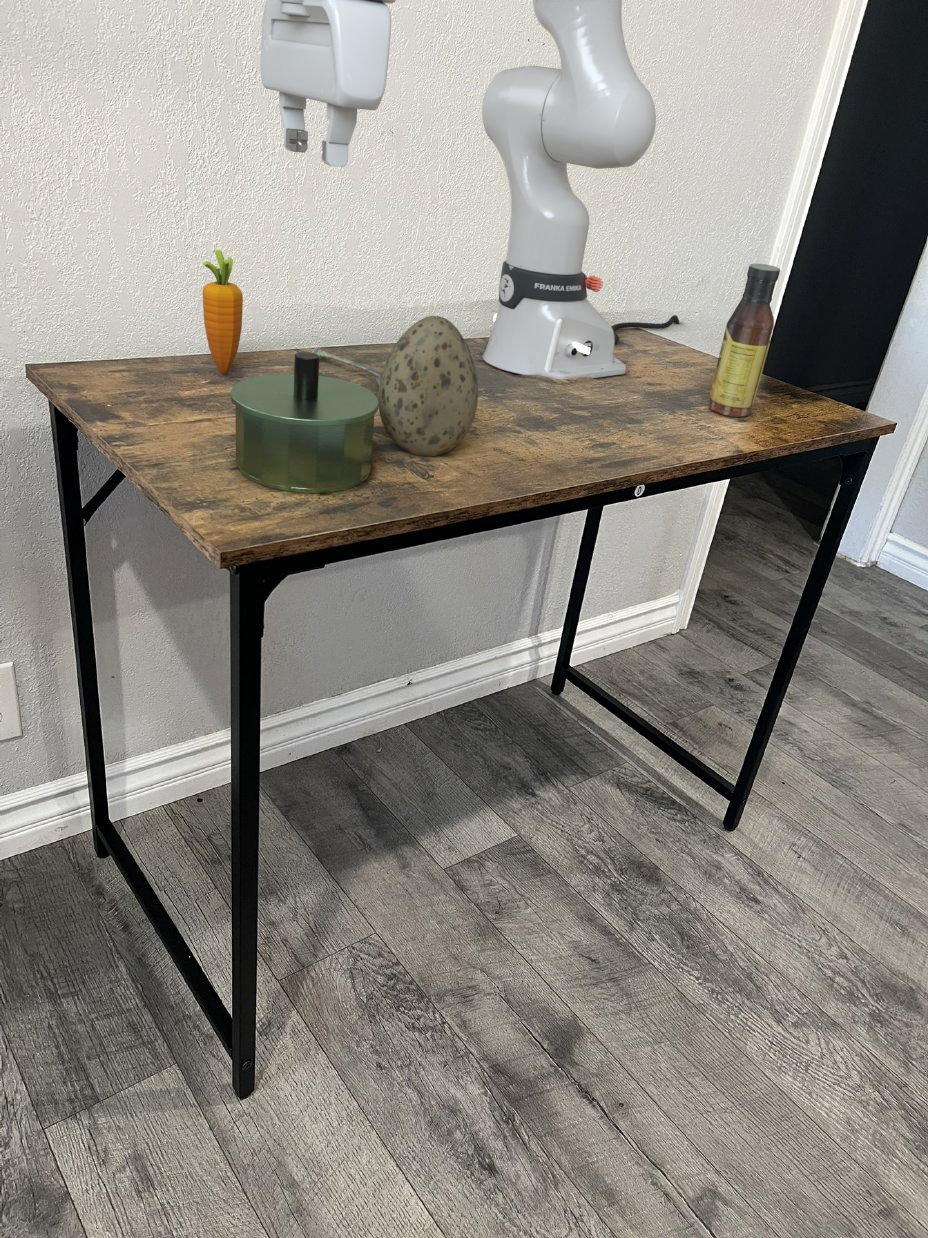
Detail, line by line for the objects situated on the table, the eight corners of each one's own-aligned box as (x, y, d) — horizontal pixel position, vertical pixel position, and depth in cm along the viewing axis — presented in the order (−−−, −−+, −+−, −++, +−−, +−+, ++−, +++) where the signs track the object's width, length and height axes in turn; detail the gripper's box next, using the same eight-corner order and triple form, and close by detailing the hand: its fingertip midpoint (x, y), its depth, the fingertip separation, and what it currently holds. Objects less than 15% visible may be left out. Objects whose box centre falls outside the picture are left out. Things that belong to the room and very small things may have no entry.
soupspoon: (401, 414, 118) (439, 409, 123) (405, 387, 117) (443, 383, 121) (297, 360, 131) (335, 357, 135) (299, 335, 129) (337, 333, 134)
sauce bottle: (721, 402, 138) (758, 259, 128) (758, 415, 134) (799, 269, 124) (696, 408, 134) (733, 261, 124) (735, 422, 130) (775, 271, 120)
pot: (340, 439, 106) (343, 378, 103) (391, 486, 96) (396, 420, 93) (220, 448, 100) (219, 383, 96) (261, 498, 90) (262, 428, 86)
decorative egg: (468, 442, 111) (485, 311, 103) (471, 476, 101) (490, 335, 94) (376, 432, 110) (386, 299, 102) (371, 466, 100) (381, 322, 93)
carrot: (238, 382, 120) (238, 257, 112) (199, 377, 120) (196, 252, 112) (246, 371, 124) (247, 251, 117) (209, 366, 124) (206, 246, 116)
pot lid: (344, 382, 104) (347, 334, 101) (402, 427, 93) (406, 375, 90) (212, 387, 97) (211, 336, 94) (257, 436, 86) (258, 380, 84)
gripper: (243, -35, 83) (243, 140, 90) (330, -40, 68) (322, 171, 75) (311, -23, 86) (306, 146, 93) (409, -25, 71) (394, 177, 78)
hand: (314, 158), depth 84 cm, fingers open, 8 cm apart
